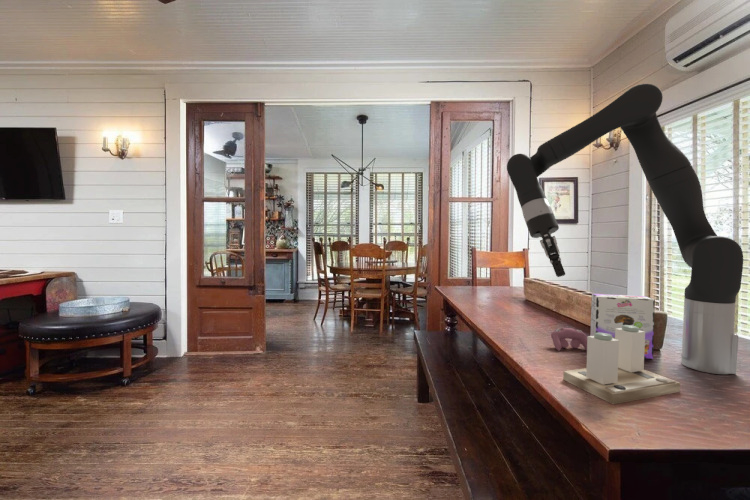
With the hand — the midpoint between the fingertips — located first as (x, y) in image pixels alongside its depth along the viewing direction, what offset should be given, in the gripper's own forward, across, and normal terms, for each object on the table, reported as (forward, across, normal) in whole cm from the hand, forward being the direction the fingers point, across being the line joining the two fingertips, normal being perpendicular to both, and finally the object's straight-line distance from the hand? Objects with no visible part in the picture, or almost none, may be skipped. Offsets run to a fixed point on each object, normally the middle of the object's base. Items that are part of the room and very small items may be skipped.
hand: (561, 275), depth 93 cm
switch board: (+28, -6, -3) cm, 28 cm away
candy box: (+22, +19, -7) cm, 30 cm away
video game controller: (+19, +16, +5) cm, 25 cm away
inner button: (+25, -1, -6) cm, 26 cm away
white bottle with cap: (+25, -11, 0) cm, 28 cm away
